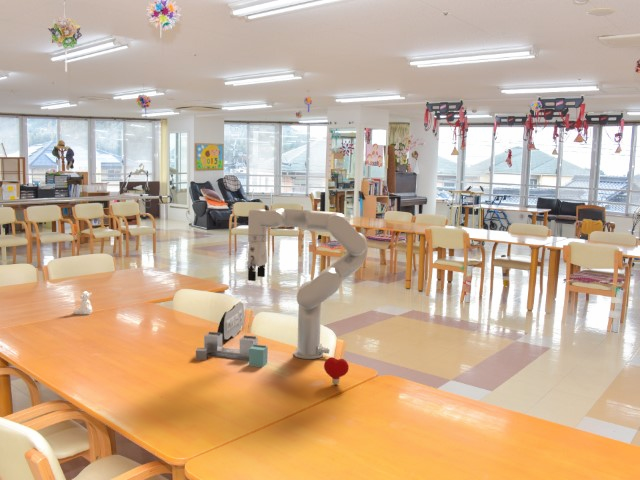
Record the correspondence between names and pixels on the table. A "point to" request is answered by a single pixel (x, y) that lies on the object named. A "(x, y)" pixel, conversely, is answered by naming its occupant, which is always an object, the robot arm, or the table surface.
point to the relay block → (201, 354)
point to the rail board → (215, 348)
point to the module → (258, 355)
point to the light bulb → (336, 369)
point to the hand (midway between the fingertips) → (256, 278)
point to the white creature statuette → (84, 305)
